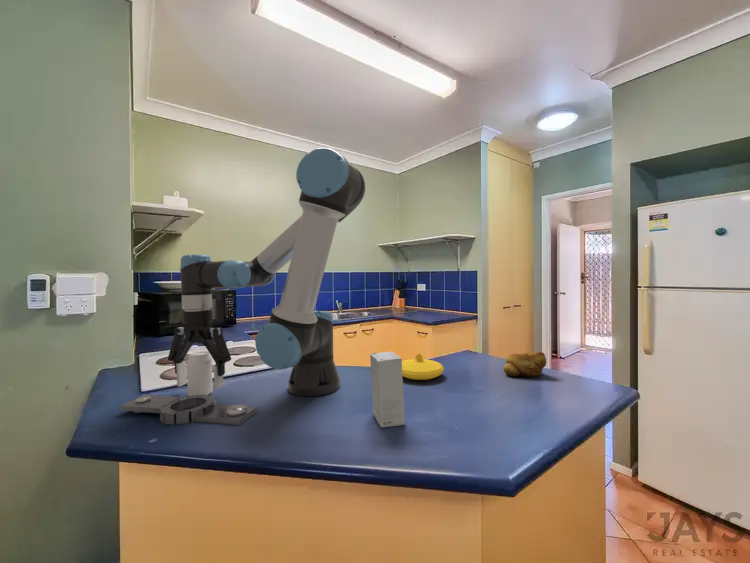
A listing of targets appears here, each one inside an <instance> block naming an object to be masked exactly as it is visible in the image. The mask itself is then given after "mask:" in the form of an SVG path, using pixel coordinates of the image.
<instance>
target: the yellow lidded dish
mask: <svg viewBox="0 0 750 563" xmlns="http://www.w3.org/2000/svg"><path fill="white" fill-rule="evenodd" d="M444 370H445V368H444V366H443V365H442V363H440V362H438V361H435V360H432V359H425V358H424V359H423V354H421V353H416V354H415V358H413V359H412V358H411V359H406V360H405V359H404V360H402V376H403V378H406V379H409V380H414V381H415V380H416V381H427V380H431V379H435V378H437V377H439V376H441V375H442V374H443V372H444Z"/></svg>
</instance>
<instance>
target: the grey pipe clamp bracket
mask: <svg viewBox="0 0 750 563" xmlns="http://www.w3.org/2000/svg"><path fill="white" fill-rule="evenodd" d="M119 409H120V411H128V412H132V413H133V414H135V415H136V414H138V415H139V414H143V413H151V414H159V420H160V422H161V423H162V424H164V425H177V426H178V425H182V424H189V423H190V422H191V423H193V422H199V423H210V424H222V425H224V424H225V425H232V426H233V425H234V426H240V425H242V424H243V423H244V422H246V421H247V420H248V419H250V418H251V417H253V416H254V415H255V414H256V413H258V407H257V406H247V404H236V405H232V404H218V403H217V404H216V397H214V396H212V395H210V394H209V395H200V396H199V395H194V396H188V395H187V396H170V395H168V396H167V395H154V394H144V395H142V396H139V397H137V398H134V399H133V400H130V401H127V402H125V403H122V404H120V408H119Z"/></svg>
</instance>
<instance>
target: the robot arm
mask: <svg viewBox="0 0 750 563" xmlns="http://www.w3.org/2000/svg"><path fill="white" fill-rule="evenodd" d="M295 175H296V182H297V184H298V187H299V188H300V194H299V195H300V196H299V200H298V203H299V206H300V208H301V209H302V213H301V214H302V215H300V217H298V218H297V219H296V220H295V221H294V222H292V224H290V225H289V226H288V227H287V229H285V230H284V231H283V232H282V233H281V234H279V236H277V237H276V238H275V239H274V240H273V241H272V242H270V244H268V245H267V246H266V247H265V248H264V249H263V250H262V251H261V252H260V253H259V254H257V255H256V256H255V257H254V258H253V259H252V260H250V261H243V260H235V259H234V260H233V259H229V260H219V261H217V260H216V261H212V259H211V256H210V255H207V254H184V255H182V256H181V257H180V269H179V272H180V286H181V288H180V289H181V309H182V310H183V311H182V314H181V316H182V317H181V318H182V319H181V320H182V324H183V325H184V326H180V327H178V326H177V327H176V328H174V330H173V331H174V332H173V334H174V335H173V340H172V343H171V346H170V348H169V350H170V351H169V353H168V357H167V361H169V362H171V361H172V362H173V363H174V373H175V375H176V386H177V387H181V386H184V385H188V384H187V360H186V359H185V358H186V356H187V354H188V353H189V351H190V349H191V348H192V346H193V344H195V343H197V344H202V346H204V347H205V348H206V350H207V352H209V355H210V357H211V358H212V359H213V361H214V362H215V364H214V365H213V383H214V386H213V387H214V388H213V390H214V389H215V390H217V389H219V388H221V387H223V386H224V376H225V374H226V369H225V368H226V363H228V362H231V360H232V357H231V353H230V351H229V348H228V346H227V343H226V340H225V338H224V336H223V335H224V334H223V328H222V326H221V327H213V326H212V323H213V322H214V321H213V320H214V318H213V317H214V316H213V310H212V309H211V308H213V290H212V289H229V290H234V289H235V290H236V289H242V288H247V287H252V288H253V287H257V288H258V287H259V288H260V287H264V286H269V285H270V284H271V283H272V282H273V281H274V280H275V276H276V273H278V272H279V271H280V269H282V268H283V267H285V266H286V264H287V263H289V266H288V271H287V274H286V279H285V282H284V286H283V290H282V295H281V298H280V302H279V303H278V305H277V306H274V307H273V308H271V309H272V310H271V313H270V316H269V320H268V323H266V324H264V325H262V327H261V328H260V329H259V330H258V332H257V333H256V335H255V336H256V337H255V349H256V352H257V355H258V356H259V358H260V360H261V361H262V362H263V363H264V364H265V366H267V367H269V368H271V369H274V370H278V371H279V370H286V369H289V368H291V372H290V375H289V378H288V383H287V385H288V388H287V389H288V392H289V393H290V394H292V395H294V396H299V397H317V396H318V397H319V396H324V395H328V394H330V393H334V392H335V391H338V389H339V388H340V386H341V378H340V375H339V372H338V369H337V366H336V364H335V363H336V362H335V361H334V360H335V359H334V321H333V314H332V313H331V312H330V311H328V310H315V306H316V303H317V300H318V297H319V293H320V289H321V284H322V281H323V277H324V274H325V271H326V270H325V269H326V266H327V263H328V258H329V254H330V250H331V247H332V243H333V239H334V235H335V232H336V228H337V223H341V222H342V221H343V220H345V219H346V218H347V217H348V216H349V215H350V214H351V213H352V212H354V211H355V209H357V208H358V206H359V205H361V203H362V201H363V199H364V197H365V194H366V182H365V179H364V176H363V174H362V173H361V171H360V170H359V169H358V168H356V167H355V166H354V165H353V164H352V163H350V162H349V160H347V158H346V157H345V156H344V155H343V154H342V153H339V152H337V151H336V150H334V149H332V148H328V147H319V148H315V149H313V150H311V151H310V152H308V153H306V154H305V155H304V156H303V157H302V159H301V160H300V161H299V163H298V165H297V168H296V174H295Z"/></svg>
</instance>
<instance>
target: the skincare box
mask: <svg viewBox="0 0 750 563" xmlns="http://www.w3.org/2000/svg"><path fill="white" fill-rule="evenodd" d="M369 355H370V357H369V358H370V374H371V375H370V377H371V378H370V379H371V397H372V398H371V399H372V414H373V416H374V418H375V419H376V421H377V423H378V425H379V427H380V428H389V427H398V426H399V427H400V426H405V424H406V416H405V415H406V413H405V397H404V394H405V393H404V383H403V382H404V380H403V378H404V377H403V376H402V361H403V359H402V357H401V356H399V355H397V354H396V353H395V352H393V351H383V352H375V353H370V354H369Z"/></svg>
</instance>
